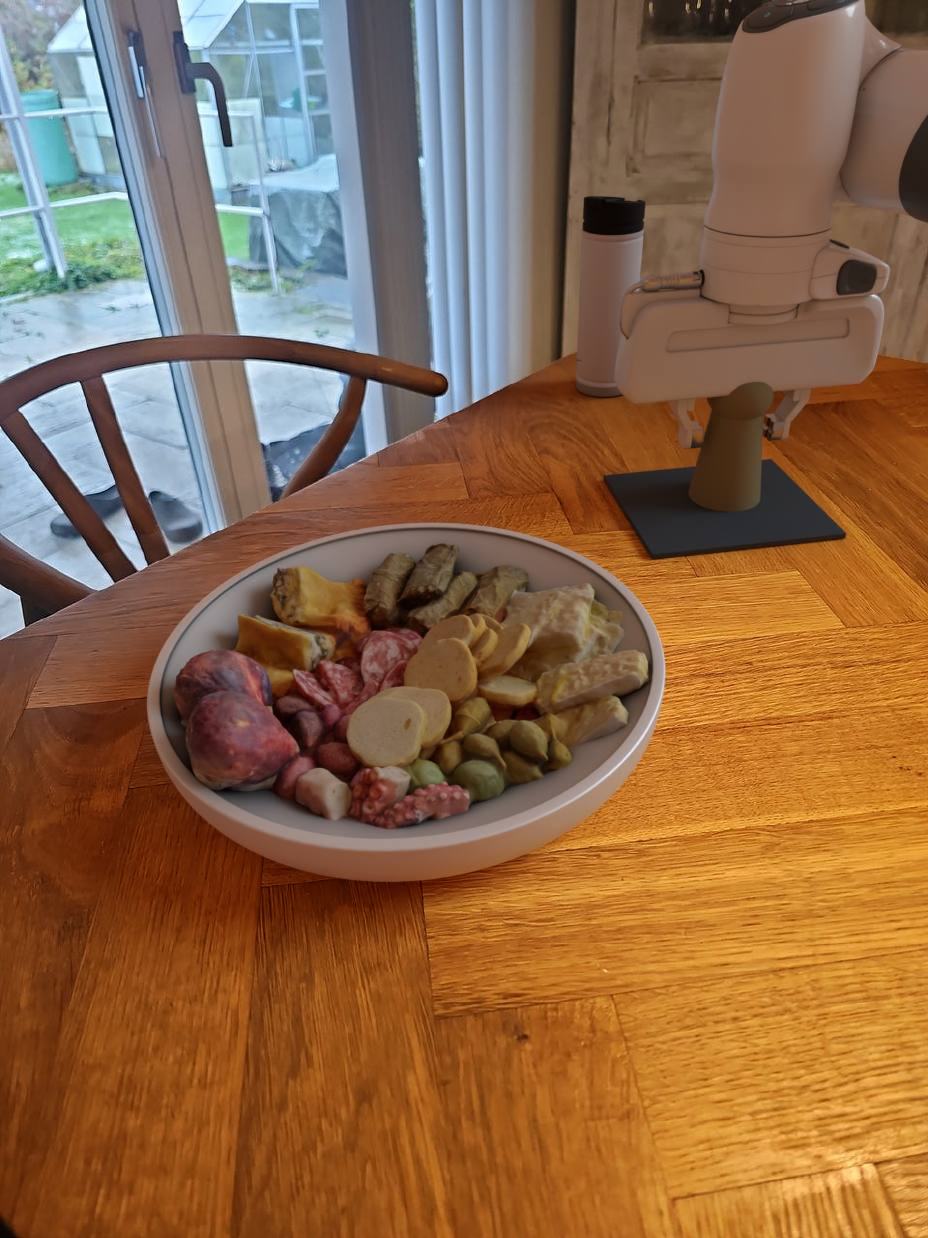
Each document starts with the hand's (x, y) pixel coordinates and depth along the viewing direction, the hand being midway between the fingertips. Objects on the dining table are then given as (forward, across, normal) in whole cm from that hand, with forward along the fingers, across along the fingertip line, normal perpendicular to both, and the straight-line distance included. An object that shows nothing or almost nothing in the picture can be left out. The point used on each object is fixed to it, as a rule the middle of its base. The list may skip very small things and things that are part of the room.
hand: (731, 441), depth 70 cm
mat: (+6, -1, -1) cm, 6 cm away
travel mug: (+6, -3, +28) cm, 29 cm away
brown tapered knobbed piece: (+5, 0, 0) cm, 5 cm away
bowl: (+6, -29, -22) cm, 37 cm away
